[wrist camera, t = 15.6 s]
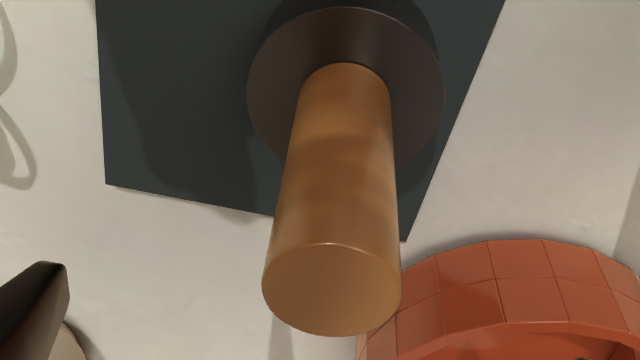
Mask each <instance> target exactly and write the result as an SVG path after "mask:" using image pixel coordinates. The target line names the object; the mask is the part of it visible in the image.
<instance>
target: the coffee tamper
mask: <svg viewBox="0 0 640 360" xmlns="http://www.w3.org/2000/svg"><path fill="white" fill-rule="evenodd" d="M246 98H247V106H248V111H249V115H250V118H251V120H252V123H253V125H254V127H255V129H256V131H257V133H258V135H259V136H260V138H261V139H262V140H263V142H264V143H265V145H266V146H267V147H268V148H269V149H270V150H271V151H272V152H273V153H274V154H275V155H276V156H278V157H279V158H280V159H281V160H282V161H284V162H285V166H284V171H283V176H282V181H281V186H280V191H279V196H278V201H277V206H276V211H275V216H274V221H273V226H272V231H271V236H270V241H269V245H268V250H267V255H266V260H265V265H264V270H263V275H262V282H261V286H262V293H263V296H264V299H265V301H266V303H267V305H268V307H269V308H270V310H271V311H272V312H273V313H274V314H275V315H276V316H277V317H278V318H279V319H280V320H282V321H283V322H285V323H286V324H288V325H290V326H292V327H293V328H296V329H298V330H300V331H303V332H306V333H310V334H314V335H319V336H327V337H346V336H353V335H358V334H362V333H366V332H368V331H371V330H373V329H375V328H377V327H379V326H381V325H382V324H384V323H385V322H386V321H387V320H388V319H390V318H391V316H392V315H393V314H394V313H395V311H396V310H397V308H398V306H399V304H400V301H401V298H402V276H401V260H400V244H399V228H398V212H397V196H396V180H395V170H396V169H397V168H399V167H401V166H403V165H404V164H406V163H407V162H409V161H410V160H412V159H413V158H414V157H415V156H416V155H417V154H418V153H420V152H421V150H422V149H423V148H424V147H425V146H426V145H427V144H428V142H429V141H430V139H431V138H432V136H433V135H434V133H435V131H436V129H437V127H438V125H439V123H440V120H441V117H442V114H443V108H444V103H445V87H444V79H443V74H442V70H441V66H440V61H439V57H438V53H437V48H436V44H435V40H434V36H433V33H432V30H431V28H430V25H429V23H428V21H427V19H426V18H425V16H424V15H423V13H422V11H421V10H420V9H419V8H418V7H417V5H416V4H415V3H414V2H413V1H412V0H284V1H283V2H282V3H281V4H280V5H279V6H278V7H277V8H276V10H275V11H274V12H273V14H272V15H271V17H270V19H269V21H268V22H267V24H266V27H265V29H264V32H263V34H262V37H261V40H260V43H259V45H258V48H257V51H256V53H255V56H254V59H253V61H252V64H251V67H250V69H249V74H248V78H247V86H246Z"/></svg>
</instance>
